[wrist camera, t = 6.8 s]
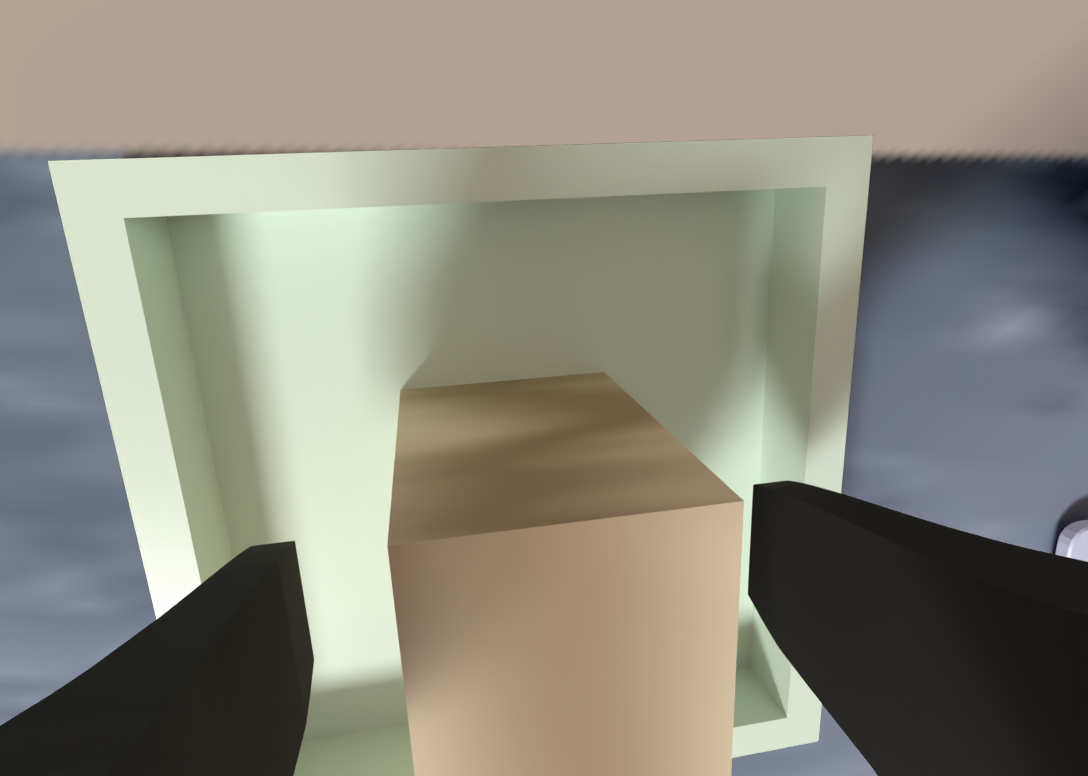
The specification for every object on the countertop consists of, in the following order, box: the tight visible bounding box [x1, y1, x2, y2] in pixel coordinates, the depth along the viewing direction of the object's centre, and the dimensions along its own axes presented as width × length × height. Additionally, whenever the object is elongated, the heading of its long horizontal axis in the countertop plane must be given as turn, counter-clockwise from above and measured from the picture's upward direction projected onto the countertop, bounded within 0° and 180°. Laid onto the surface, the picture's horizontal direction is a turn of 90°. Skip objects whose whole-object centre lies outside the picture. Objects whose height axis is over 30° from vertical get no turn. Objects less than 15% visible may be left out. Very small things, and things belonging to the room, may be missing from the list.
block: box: [387, 372, 744, 776], centre depth 11 cm, size 4×5×6 cm
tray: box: [48, 135, 873, 776], centre depth 13 cm, size 13×13×2 cm
